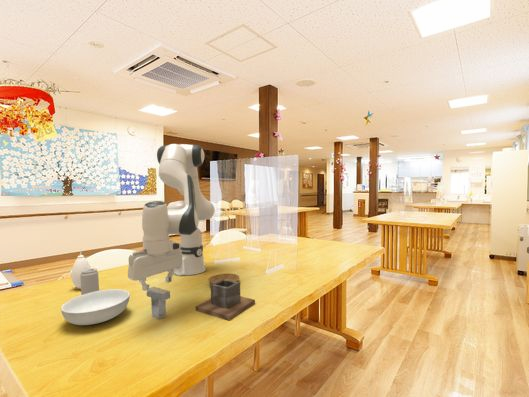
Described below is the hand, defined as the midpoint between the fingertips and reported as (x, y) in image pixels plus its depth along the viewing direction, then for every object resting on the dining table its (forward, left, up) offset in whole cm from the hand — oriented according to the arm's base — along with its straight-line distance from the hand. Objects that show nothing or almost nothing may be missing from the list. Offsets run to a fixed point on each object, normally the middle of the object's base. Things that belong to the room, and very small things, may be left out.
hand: (157, 285), depth 98 cm
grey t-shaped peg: (0, 0, -11) cm, 11 cm away
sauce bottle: (-56, 0, -11) cm, 57 cm away
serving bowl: (-18, -12, -12) cm, 25 cm away
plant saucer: (-2, +38, -12) cm, 40 cm away
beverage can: (-40, -4, -11) cm, 42 cm away
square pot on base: (+16, +18, -11) cm, 27 cm away
